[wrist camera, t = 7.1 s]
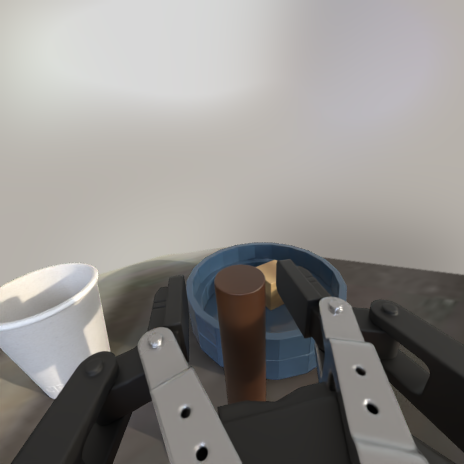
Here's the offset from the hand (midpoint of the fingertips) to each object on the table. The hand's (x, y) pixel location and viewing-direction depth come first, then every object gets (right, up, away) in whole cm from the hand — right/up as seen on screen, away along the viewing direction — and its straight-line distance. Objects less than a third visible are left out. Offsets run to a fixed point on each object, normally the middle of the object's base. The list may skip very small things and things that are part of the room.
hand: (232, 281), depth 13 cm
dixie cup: (-15, -11, +10) cm, 21 cm away
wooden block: (+5, -6, +17) cm, 19 cm away
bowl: (+4, -7, +15) cm, 17 cm away
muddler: (+1, -13, +3) cm, 13 cm away
